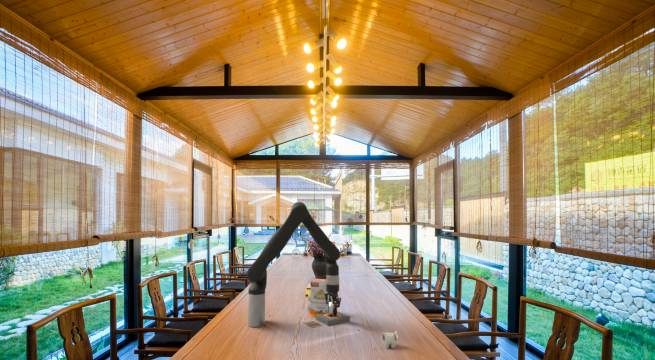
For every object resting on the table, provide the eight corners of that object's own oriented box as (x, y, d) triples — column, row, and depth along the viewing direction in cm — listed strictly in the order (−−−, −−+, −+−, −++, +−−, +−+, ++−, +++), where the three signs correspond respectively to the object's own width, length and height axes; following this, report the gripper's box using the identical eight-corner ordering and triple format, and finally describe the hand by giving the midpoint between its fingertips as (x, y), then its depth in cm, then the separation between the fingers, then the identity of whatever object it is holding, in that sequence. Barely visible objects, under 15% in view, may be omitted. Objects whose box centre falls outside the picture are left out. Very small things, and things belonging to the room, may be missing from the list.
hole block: (315, 322, 210) (315, 315, 210) (337, 318, 218) (337, 310, 218) (327, 328, 200) (327, 320, 200) (349, 323, 208) (349, 315, 208)
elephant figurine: (394, 342, 180) (394, 327, 180) (399, 350, 170) (399, 334, 171) (379, 342, 179) (379, 327, 180) (382, 350, 170) (382, 334, 170)
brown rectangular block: (302, 325, 204) (302, 323, 204) (313, 323, 208) (313, 321, 208) (312, 331, 196) (312, 328, 196) (323, 328, 200) (323, 325, 200)
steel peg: (327, 316, 210) (327, 302, 210) (333, 315, 212) (333, 301, 213) (331, 318, 207) (331, 303, 207) (337, 317, 209) (337, 302, 209)
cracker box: (310, 315, 225) (310, 280, 226) (313, 312, 230) (313, 278, 232) (332, 317, 220) (332, 281, 222) (335, 314, 226) (334, 279, 228)
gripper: (320, 281, 215) (320, 311, 213) (334, 285, 203) (334, 318, 201) (331, 280, 219) (331, 309, 217) (345, 284, 207) (345, 315, 206)
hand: (332, 313), depth 209 cm, fingers closed on steel peg, 4 cm apart
